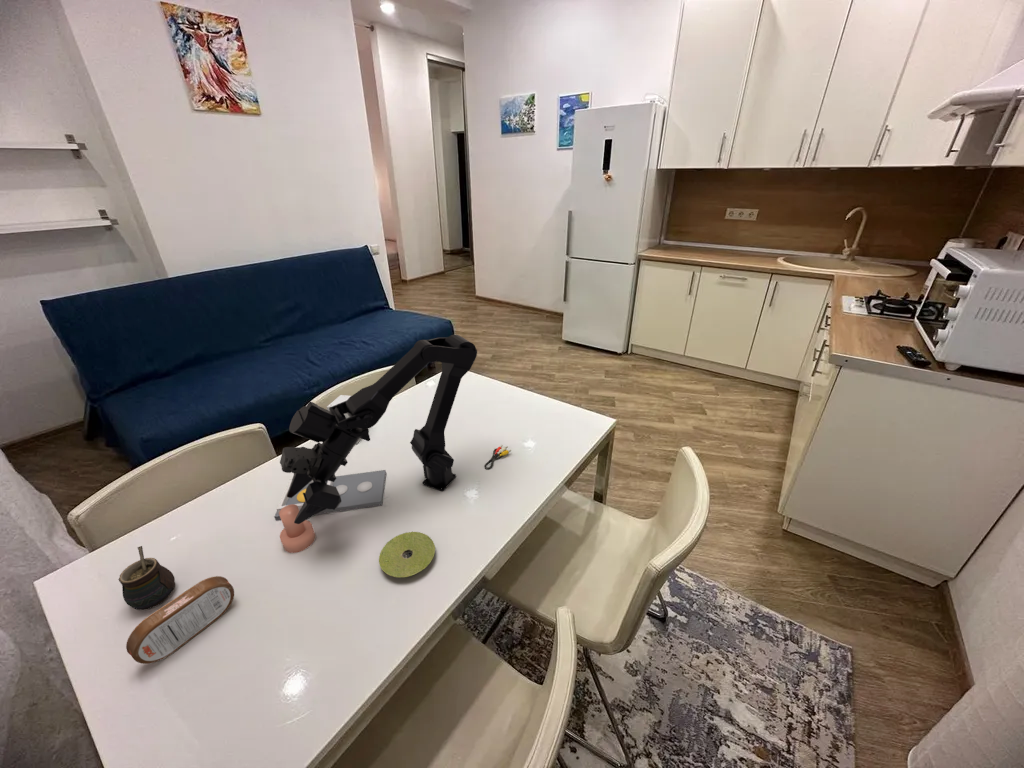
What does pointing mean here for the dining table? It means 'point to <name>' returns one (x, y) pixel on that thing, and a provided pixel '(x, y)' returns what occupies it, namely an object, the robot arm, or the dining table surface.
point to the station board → (345, 492)
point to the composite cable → (497, 456)
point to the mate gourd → (146, 583)
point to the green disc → (407, 554)
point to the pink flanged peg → (295, 531)
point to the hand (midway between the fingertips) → (292, 509)
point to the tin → (180, 620)
